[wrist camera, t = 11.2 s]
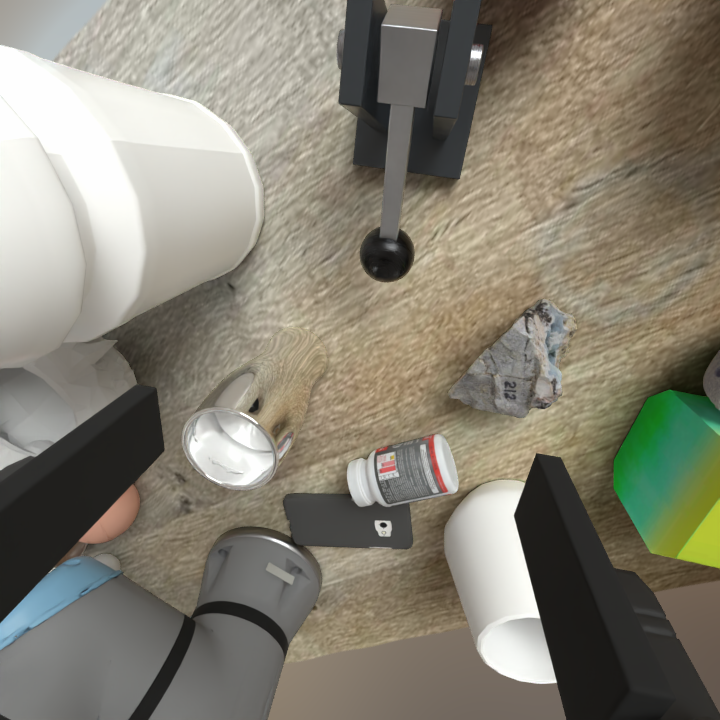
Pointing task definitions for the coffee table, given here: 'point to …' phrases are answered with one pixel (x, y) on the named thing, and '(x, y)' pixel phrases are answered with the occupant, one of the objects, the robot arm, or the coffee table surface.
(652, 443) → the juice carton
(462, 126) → the bracket
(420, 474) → the pill bottle
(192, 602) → the coffee table surface
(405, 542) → the cell phone
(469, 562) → the white vase
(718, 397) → the toy boat
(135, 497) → the toy ball
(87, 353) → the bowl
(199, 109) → the bottle
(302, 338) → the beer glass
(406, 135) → the lever
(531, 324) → the mineral specimen
